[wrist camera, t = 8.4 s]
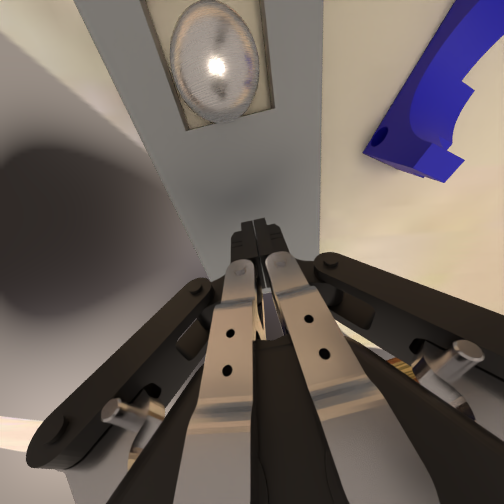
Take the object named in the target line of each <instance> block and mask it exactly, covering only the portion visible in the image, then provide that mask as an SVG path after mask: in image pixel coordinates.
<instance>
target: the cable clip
mask: <svg viewBox="0 0 504 504" xmlns="http://www.w3.org/2000/svg"><path fill="white" fill-rule="evenodd" d="M503 35H504V0H456V1H455V2H454V4H453V6H452V7H451V9H450V10H449V12H448V14H447V15H446V17H445V19H444V20H443V22H442V24H441V25H440V27H439V28H438V30H437V32H436V33H435V35H434V37H433V38H432V40H431V42H430V43H429V45H428V47H427V48H426V50H425V51H424V53H423V55H422V56H421V58H420V60H419V61H418V63H417V65H416V66H415V68H414V69H413V71H412V73H411V74H410V76H409V78H408V79H407V81H406V83H405V84H404V86H403V87H402V89H401V91H400V92H399V94H398V96H397V97H396V99H395V101H394V102H393V104H392V105H391V107H390V109H389V110H388V112H387V114H386V115H385V117H384V119H383V120H382V122H381V124H380V125H379V127H378V128H377V130H376V132H375V133H374V135H373V137H372V138H371V140H370V142H369V143H368V145H367V146H366V148H365V150H364V151H363V154H366V155H368V156H370V157H372V158H374V159H377V160H379V161H381V162H383V163H385V164H388V165H390V166H392V167H394V168H396V169H399V170H401V171H404V172H407V173H410V174H413V175H416V176H419V177H422V178H424V177H427V178H430V179H434V180H437V181H440V182H443V183H445V182H446V180H447V179H448V178H449V177H450V176H451V175H452V174H453V173H454V172H455V171H456V169H457V168H458V167H459V166H460V165H461V164H462V163H463V162H464V161H465V160H464V159H462V158H460V157H458V156H456V155H454V154H452V153H451V152H449V151H447V149H448V148H449V147H450V146H451V145H452V136H453V130H454V126H455V123H456V121H457V118H458V116H459V114H460V112H461V110H462V109H463V107H464V105H465V104H466V102H467V101H468V99H469V98H470V96H471V95H472V94H473V92H474V91H475V90H473V89H472V88H470V87H469V86H468V85H466V84H465V83H463V82H462V80H463V78H464V77H465V76H466V74H467V73H468V72H469V71H470V70H471V68H472V67H473V66H474V65H475V64H476V63H477V61H478V60H479V59H480V58H481V57H482V56H483V55H484V54H485V53H486V52H487V51H488V50H489V49H490V47H491V46H493V45H494V44H495V43H496V42H497V41H498V40H499V39H500V38H501V37H502V36H503Z"/></svg>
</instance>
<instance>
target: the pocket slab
mask: <svg viewBox="0 0 504 504" xmlns="http://www.w3.org/2000/svg"><path fill="white" fill-rule="evenodd" d="M259 1H260V10H261V19H262V28H263V37H264V46H265V55H266V63H267V72H268V81H269V90H270V99H271V108H272V109H269V110H265V111H261V112H257V113H253V114H249V115H245V116H242V117H238V118H237V119H235V120H233V121H230V122H227V123H214V124H210V125H206V126H203V127H199V128H195V129H191V130H189V127H188V124H187V121H186V118H185V115H184V112H183V109H182V106H181V103H180V101H179V98H178V95H177V92H176V89H175V86H174V83H173V80H172V77H171V74H170V71H169V68H168V66H167V63H166V60H165V57H164V54H163V51H162V48H161V45H160V42H159V39H158V36H157V33H156V30H155V28H154V25H153V22H152V19H151V16H150V13H149V10H148V7H147V4H146V1H145V0H74V2H75V5H76V7H77V9H78V11H79V13H80V15H81V17H82V19H83V21H84V23H85V25H86V27H87V29H88V31H89V33H90V35H91V37H92V39H93V41H94V44H95V46H96V48H97V50H98V52H99V54H100V56H101V58H102V60H103V62H104V64H105V66H106V68H107V70H108V72H109V74H110V76H111V78H112V80H113V83H114V85H115V87H116V89H117V91H118V93H119V95H120V97H121V99H122V101H123V103H124V105H125V107H126V109H127V111H128V113H129V115H130V117H131V119H132V122H133V124H134V126H135V128H136V130H137V132H138V134H139V136H140V138H141V140H142V142H143V144H144V146H145V148H146V150H147V152H148V154H149V156H150V158H151V160H152V163H153V165H154V167H155V169H156V171H157V173H158V175H159V177H160V179H161V181H162V183H163V185H164V187H165V189H166V191H167V193H168V195H169V197H170V199H171V202H172V203H173V206H174V208H175V210H176V212H177V214H178V216H179V218H180V220H181V222H182V224H183V226H184V228H185V230H186V232H187V234H188V236H189V238H190V241H191V242H192V244H193V247H194V249H195V251H196V253H197V255H198V257H199V259H200V261H201V263H202V265H203V267H204V269H205V271H206V273H207V275H208V277H209V280H210V282H212V281H214V280H217V279H219V278H221V277H222V276H224V275H225V273H226V269H227V267H228V266H229V265H230V263H231V237H232V235H233V233H234V232H238V231H241V223H242V222H246V221H251V220H252V221H253V220H255V219H260V218H264V217H265V220H266V224H267V225H270V224H274V223H275V224H276V225H278V226H279V227H280V229H281V231H282V234H283V237H284V239H285V242H286V244H287V247H288V249H289V252H290V254H292V255H293V256H294V258H296V259H299V260H304V261H314V259H315V258H316V256H318V255H319V237H320V176H321V115H322V54H323V0H259ZM253 225H254V221H253ZM254 230H255V227H254ZM255 234H256V233H255ZM256 239H257V238H256ZM262 270H263V268H262ZM263 275H264V272H263ZM264 281H265V277H264ZM265 286H266V281H265ZM270 292H271V288H267V286H266V288H265V289H262V293H263V294H265V293H270Z"/></svg>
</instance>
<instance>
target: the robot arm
mask: <svg viewBox="0 0 504 504" xmlns="http://www.w3.org/2000/svg"><path fill="white" fill-rule="evenodd" d="M253 221H254V225H253ZM253 221H252V220H251V221H246V222H242V223H241V231H238V232H234V233H233V235H232V237H231V263H230V265H229V266H228V267H227V269H226V273H225V275H224V276H222V277H221V278H219V279H217V280H214V281H212V282H210V281H209V280H208V279H207V278H197V279H194V280H192V281H190V282H189V283H188V284H186V285H185V286H184V287H183V288H182V289H181V290H180V291H179V292H178V293H177V294H176V295H175V296H174V297H173V298H172V299H171V300H170V301H168V302H167V303H166V304H165V305H164V306H163V307H162V308H161V309H160V310H159V311H158V312H157V313H156V314H155V315H154V316H153V317H152V318H151V319H150V320H149V321H147V323H145V324H144V325H143V326H142V327H141V328H140V329H139V330H138V331H137V332H136V333H135V334H134V335H133V336H132V337H131V338H130V339H129V340H128V341H127V342H126V343H124V344H123V345H122V346H121V347H120V349H118V350H117V351H116V352H115V353H114V354H113V355H112V356H111V357H110V358H109V359H108V360H107V361H106V362H105V363H103V364H102V366H100V367H99V368H98V369H97V370H96V371H95V372H94V373H93V374H92V375H91V376H90V377H89V378H88V379H87V380H86V381H85V382H84V383H82V384H81V385H80V386H79V387H78V388H77V389H76V390H75V391H74V392H73V393H72V394H71V395H70V396H69V397H68V398H67V399H66V400H65V401H64V402H63V403H62V404H60V405H59V406H58V407H57V408H56V409H55V410H54V411H53V412H52V413H51V414H50V415H49V416H48V417H47V418H46V419H45V420H44V422H43V423H42V424H41V425H40V427H39V428H38V429H37V431H36V433H35V434H34V436H33V438H32V439H31V442H30V444H29V446H28V449H27V454H26V462H27V464H28V466H30V467H31V468H44V469H55V470H57V471H61V472H64V473H65V474H66V477H67V480H68V483H69V486H70V489H71V492H72V495H73V498H74V501H75V504H504V315H501V314H499V313H496V312H493V311H491V310H488V309H485V308H483V307H480V306H477V305H475V304H472V303H469V302H467V301H464V300H461V299H459V298H456V297H453V296H451V295H448V294H445V293H442V292H440V291H437V290H434V289H432V288H429V287H426V286H424V285H421V284H418V283H416V282H413V281H410V280H408V279H405V278H402V277H400V276H397V275H394V274H392V273H389V272H386V271H384V270H381V269H378V268H376V267H373V266H370V265H368V264H365V263H362V262H359V261H357V260H354V259H351V258H349V257H346V256H343V255H341V254H338V253H334V252H326V253H322V254H319V255H318V256H316V258H315V259H314V261H304V260H299V259H296V258H294V256H293V255H292V254H290V252H289V249H288V247H287V244H286V242H285V239H284V237H283V234H282V231H281V229H280V227H279V226H278V225H276V224H275V223H274V224H270V225H267V224H266V220H265V217H264V218H260V219H255V220H253ZM254 227H255V230H254ZM255 233H256V234H255ZM256 238H257V239H256ZM262 268H263V270H262ZM263 272H264V275H263ZM264 277H265V281H266V286H267V288H271V292H272V297H273V301H274V304H275V307H276V311H277V314H278V318H279V321H280V324H281V327H282V331H283V334H284V336H282V337H280V338H278V339H276V340H272V341H270V340H266V334H265V319H264V304H263V293H262V289H265V288H266V286H265V281H264ZM196 318H197V320H196V321H195V322H194V323H193V324H192V325H191V323H192V322H193V321H194V320H195V319H196ZM335 320H337V321H338V322H340V323H341V324H343V325H345V326H346V327H348V328H350V329H351V330H353V331H354V332H356V333H358V334H359V335H361V336H362V337H364V338H366V339H367V340H369V341H371V342H372V343H374V344H375V345H377V346H379V347H380V348H382V349H383V350H385V351H387V352H389V353H390V354H392V355H394V356H395V357H396V358H398V359H400V360H401V361H403V362H404V363H406V364H408V365H409V366H411V367H412V371H413V373H414V375H415V377H416V379H417V380H418V381H419V383H420V384H419V383H418V382H416V381H415V380H413V379H412V378H411V377H409V376H408V375H406V374H405V373H403V372H402V371H400V370H399V369H397V368H396V367H394V366H393V365H392V364H390V363H389V362H387V361H386V360H384V359H383V358H381V357H380V356H378V355H377V354H375V353H374V352H373V351H371V350H370V349H368V348H367V347H365V346H364V345H362V344H361V343H359V342H357V341H355V340H353V339H351V338H349V337H346V336H344V335H343V334H342V332H341V330H340V328H339V326H338V325H337V323H336V321H335ZM190 325H191V327H190V328H189V329H188V330H187V331H186V332H185V333H184V331H185V330H186V329H187V328H188V327H189V326H190ZM182 333H184V334H183V336H182V337H181V338H180V339H179V340H178V338H179V337H180V336H181V335H182ZM177 340H178V341H177ZM205 354H206V358H205V363H204V364H203V365H202V366H201V367H200V368H199V369H198V371H197V372H196V373H195V375H194V376H193V377H192V379H191V380H190V382H189V383H188V385H187V386H186V388H185V389H184V390H183V392H182V393H181V395H180V397H179V398H178V399H177V401H176V402H175V404H174V405H173V406H172V408H171V409H170V411H169V412H168V414H167V415H166V417H165V408H166V406H167V405H168V404H169V402H170V401H171V399H172V398H173V397H174V396H175V394H176V393H177V392H178V390H179V389H180V388H181V386H182V385H183V384H184V382H185V380H187V378H188V377H189V375H190V374H191V372H192V371H193V370H194V369H195V367H196V366H197V365H198V363H199V362H200V361H201V359H202V358H203V356H204V355H205Z"/></svg>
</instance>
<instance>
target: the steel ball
mask: <svg viewBox="0 0 504 504" xmlns="http://www.w3.org/2000/svg"><path fill="white" fill-rule="evenodd" d="M170 63H171V69H172V74H173V77H174V81H175V83H176V86H177V88H178V90H179V93H180V95H181V96H182V98H183V99H184V101H185V102H186V104H187V105H188V106H189V107H190V108H191V109H192V110H193V111H194V112H195V113H196V114H197V115H199V116H200V117H202V118H203V119H206V120H208V121H211V122H214V123H227V122H230V121H233V120H235V119H237V118H238V117H240V116H241V115H242V114H243V113H244V112H245V111H246V110H247V109H248V107H249V106H250V104H251V103H252V101H253V99H254V96H255V94H256V90H257V86H258V81H259V58H258V52H257V48H256V45H255V41H254V39H253V36H252V34H251V32H250V30H249V28H248V26H247V24H246V23H245V22H244V20H243V19H242V17H241V16H240V15H239V14H238V13H237V12H236V11H235V10H234V9H232V8H231V7H230V6H228V5H226V4H224V3H222V2H220V1H216V0H201V1H198V2H195V3H193V4H192V5H190V6H189V7H188V8H187V9H186V10H185V11H184V12H183V13H182V14H181V16H180V17H179V19H178V21H177V23H176V25H175V27H174V30H173V34H172V37H171V44H170Z"/></svg>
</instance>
